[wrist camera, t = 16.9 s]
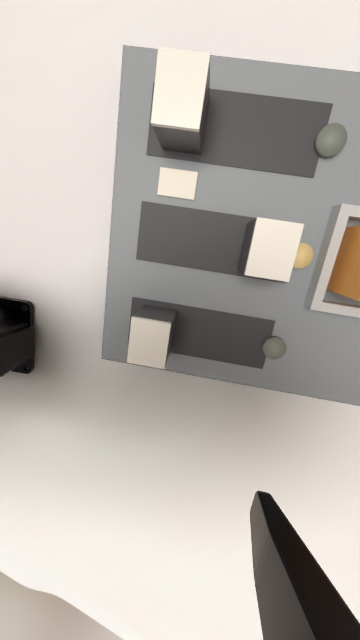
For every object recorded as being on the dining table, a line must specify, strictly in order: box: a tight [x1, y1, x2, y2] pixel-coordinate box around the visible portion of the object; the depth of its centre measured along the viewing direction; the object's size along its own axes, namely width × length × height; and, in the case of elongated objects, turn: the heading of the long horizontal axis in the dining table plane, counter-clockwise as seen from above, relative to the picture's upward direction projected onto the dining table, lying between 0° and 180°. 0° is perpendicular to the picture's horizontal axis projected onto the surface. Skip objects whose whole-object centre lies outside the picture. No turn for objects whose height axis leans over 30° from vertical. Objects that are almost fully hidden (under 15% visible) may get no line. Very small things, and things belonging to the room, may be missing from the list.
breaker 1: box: [127, 305, 177, 369], centre depth 18 cm, size 2×3×4 cm
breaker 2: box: [151, 47, 210, 154], centre depth 14 cm, size 2×3×4 cm
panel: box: [102, 45, 360, 406], centre depth 17 cm, size 20×20×3 cm
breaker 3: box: [238, 217, 304, 282], centre depth 15 cm, size 2×3×4 cm
